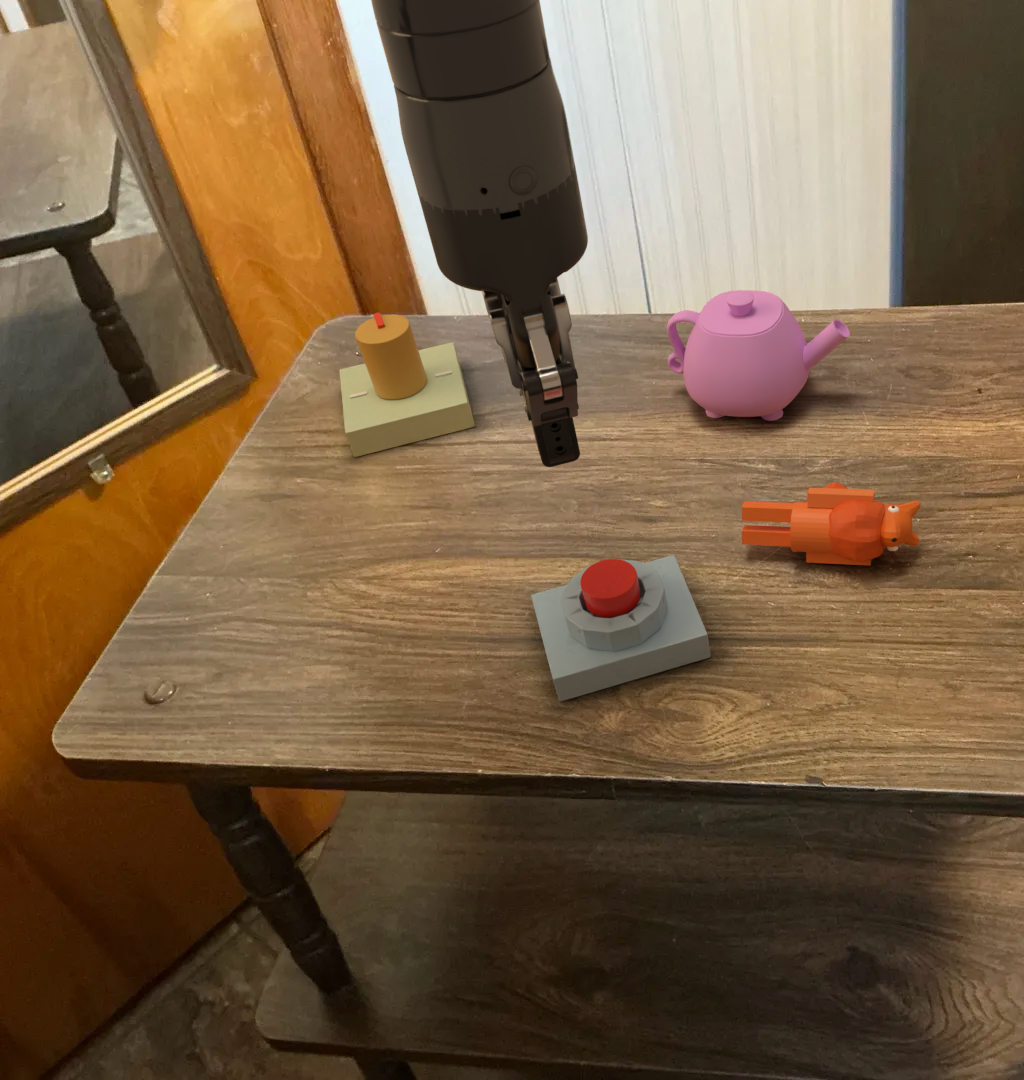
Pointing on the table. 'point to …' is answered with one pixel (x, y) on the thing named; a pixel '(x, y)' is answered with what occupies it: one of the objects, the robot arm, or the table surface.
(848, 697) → the table surface
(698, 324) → the teapot
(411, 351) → the lock knob
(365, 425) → the plate
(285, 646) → the table surface
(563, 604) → the grey button base
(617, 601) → the bell button
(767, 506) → the orange fox minifigure
